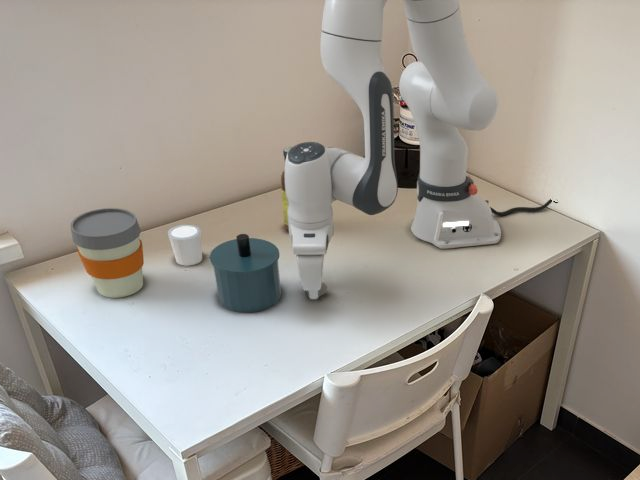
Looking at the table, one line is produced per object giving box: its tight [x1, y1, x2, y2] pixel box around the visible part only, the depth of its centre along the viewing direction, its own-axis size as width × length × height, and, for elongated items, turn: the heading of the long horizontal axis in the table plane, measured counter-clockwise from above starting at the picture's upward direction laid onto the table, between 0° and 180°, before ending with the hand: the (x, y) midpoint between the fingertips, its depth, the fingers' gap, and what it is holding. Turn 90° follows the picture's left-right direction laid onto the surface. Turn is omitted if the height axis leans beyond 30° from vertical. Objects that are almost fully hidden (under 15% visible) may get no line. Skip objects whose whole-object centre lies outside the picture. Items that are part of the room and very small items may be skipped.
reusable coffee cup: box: [69, 207, 145, 299], centre depth 144 cm, size 12×13×15 cm
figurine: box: [304, 281, 328, 298], centre depth 149 cm, size 5×4×6 cm
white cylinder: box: [167, 224, 203, 267], centre depth 157 cm, size 7×7×7 cm
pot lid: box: [209, 233, 280, 274], centre depth 142 cm, size 14×14×5 cm
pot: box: [213, 260, 282, 314], centre depth 146 cm, size 13×13×10 cm
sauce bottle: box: [280, 146, 293, 232], centre depth 168 cm, size 6×6×20 cm
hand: (314, 284), depth 149 cm, fingers open, 8 cm apart
